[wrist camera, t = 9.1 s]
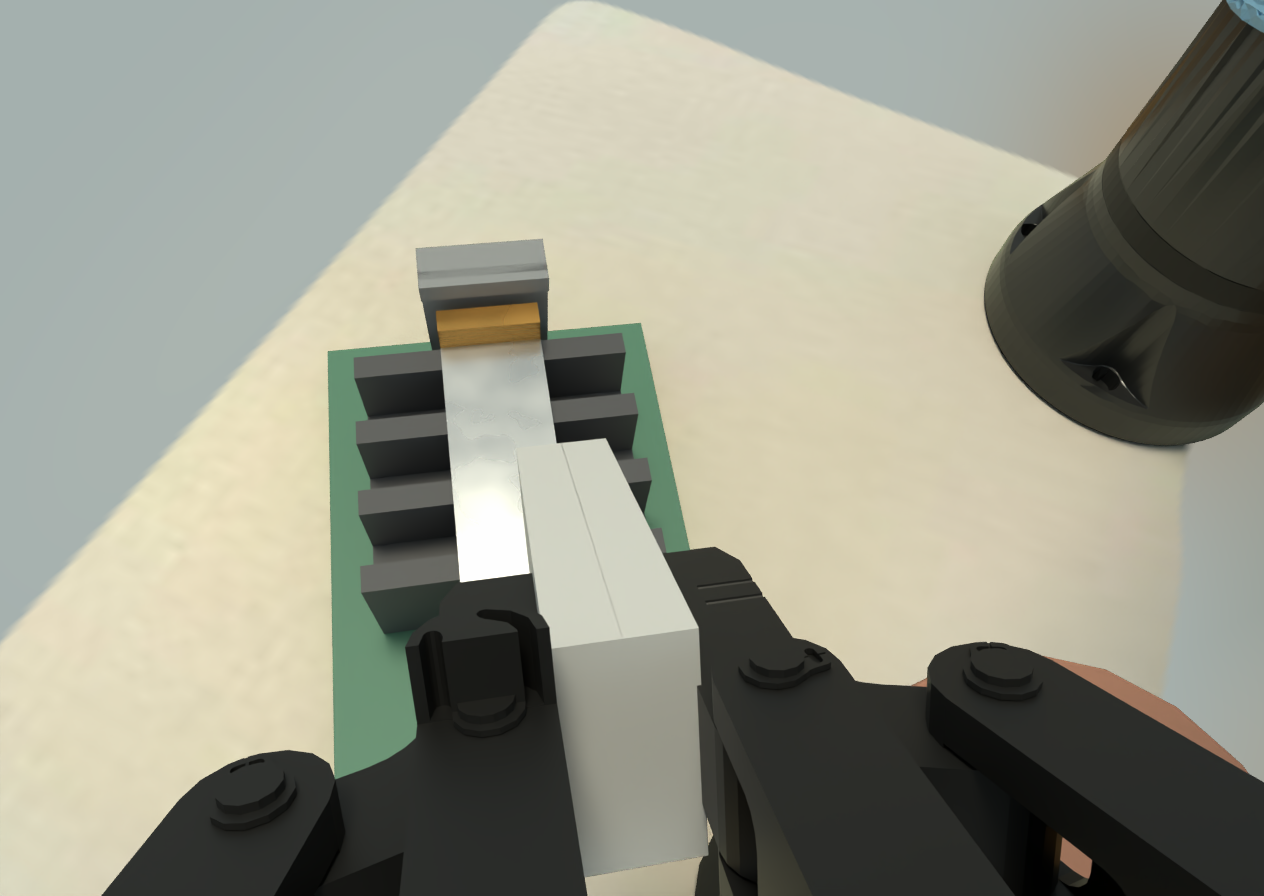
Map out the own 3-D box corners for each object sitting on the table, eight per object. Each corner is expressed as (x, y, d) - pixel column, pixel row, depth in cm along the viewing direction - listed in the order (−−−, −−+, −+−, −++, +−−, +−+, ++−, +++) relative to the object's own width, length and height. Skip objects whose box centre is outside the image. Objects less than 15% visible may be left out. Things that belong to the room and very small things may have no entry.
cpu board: (637, 340, 45) (658, 208, 37) (723, 741, 36) (776, 685, 28) (334, 368, 43) (283, 234, 34) (343, 805, 34) (276, 765, 25)
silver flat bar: (537, 335, 37) (537, 302, 35) (590, 679, 30) (593, 661, 28) (441, 344, 37) (435, 310, 35) (472, 697, 30) (466, 680, 28)
